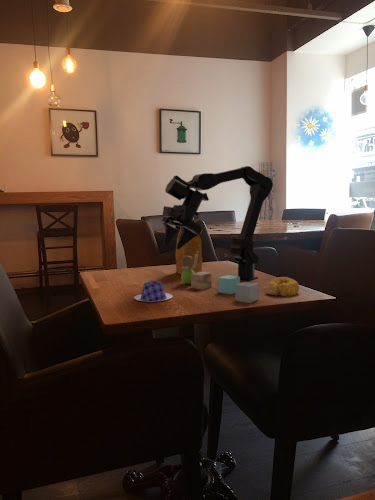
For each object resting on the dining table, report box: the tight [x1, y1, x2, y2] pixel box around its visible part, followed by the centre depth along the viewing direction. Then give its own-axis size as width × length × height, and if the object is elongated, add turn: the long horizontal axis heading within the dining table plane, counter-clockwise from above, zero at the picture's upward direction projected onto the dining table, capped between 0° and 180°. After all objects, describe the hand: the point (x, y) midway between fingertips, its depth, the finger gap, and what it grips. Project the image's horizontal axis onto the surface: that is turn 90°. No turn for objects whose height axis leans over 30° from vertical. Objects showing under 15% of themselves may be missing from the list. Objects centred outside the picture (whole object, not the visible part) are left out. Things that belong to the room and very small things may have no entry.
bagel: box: [265, 276, 300, 297], centre depth 133 cm, size 10×11×5 cm
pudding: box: [134, 280, 173, 303], centre depth 130 cm, size 12×12×5 cm
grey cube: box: [235, 281, 260, 304], centre depth 125 cm, size 5×5×5 cm
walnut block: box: [190, 271, 213, 290], centre depth 144 cm, size 5×5×5 cm
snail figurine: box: [180, 251, 198, 285], centre depth 150 cm, size 5×6×12 cm
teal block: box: [218, 274, 241, 295], centre depth 136 cm, size 5×5×5 cm
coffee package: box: [175, 227, 203, 276], centre depth 171 cm, size 10×12×22 cm
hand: (171, 246), depth 144 cm, fingers open, 9 cm apart
